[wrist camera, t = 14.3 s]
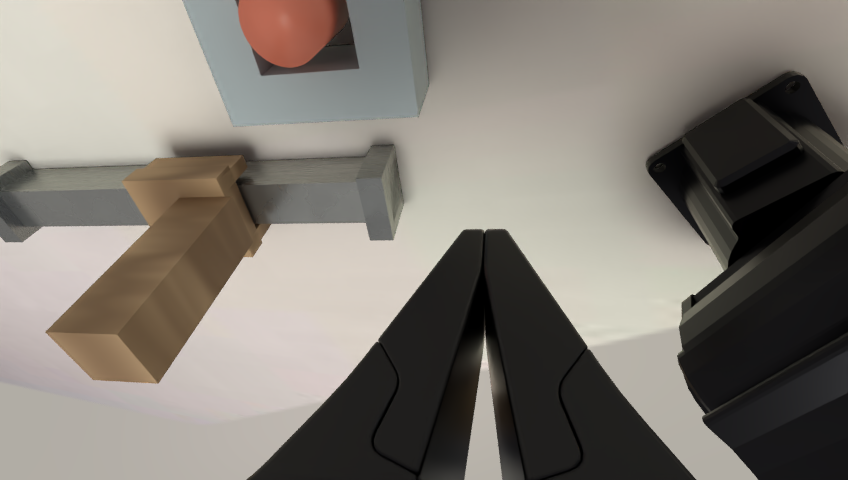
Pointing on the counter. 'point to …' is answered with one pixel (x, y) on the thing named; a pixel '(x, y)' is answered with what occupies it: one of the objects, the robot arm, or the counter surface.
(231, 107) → the box
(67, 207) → the rail
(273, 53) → the button
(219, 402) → the counter surface
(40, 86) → the counter surface
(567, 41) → the counter surface
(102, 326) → the wooden t-block
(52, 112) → the counter surface
